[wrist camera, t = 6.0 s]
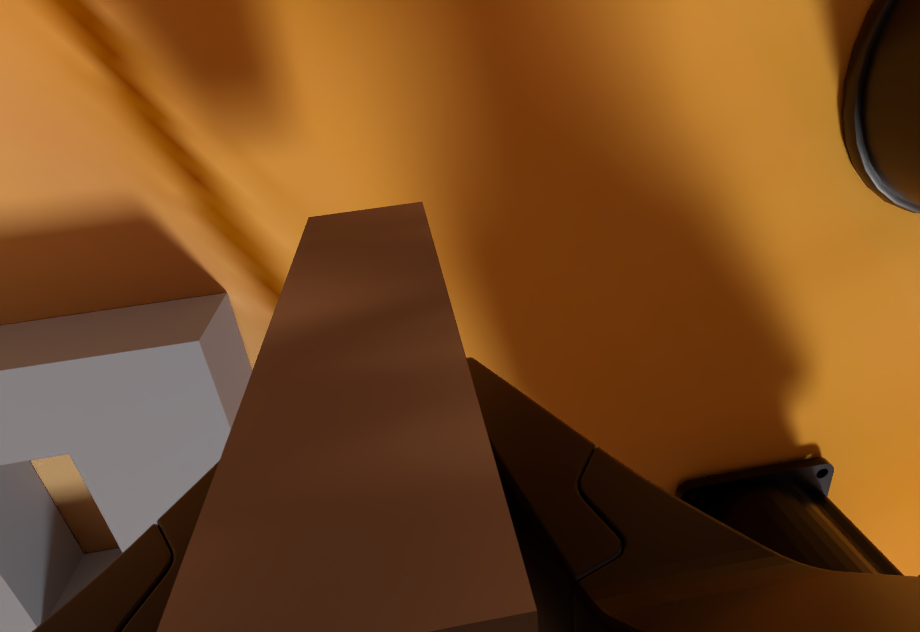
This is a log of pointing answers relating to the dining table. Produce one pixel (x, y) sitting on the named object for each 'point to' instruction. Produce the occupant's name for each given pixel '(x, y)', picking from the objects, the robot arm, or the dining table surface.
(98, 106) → the dining table surface
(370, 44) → the dining table surface
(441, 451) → the walnut bar
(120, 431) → the slotted block
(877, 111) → the french press
